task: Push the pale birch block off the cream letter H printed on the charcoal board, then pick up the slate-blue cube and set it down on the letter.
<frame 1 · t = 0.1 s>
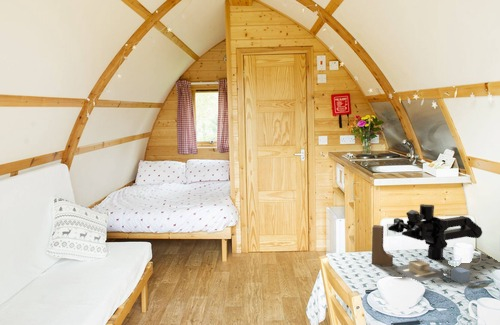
hand: (395, 231, 201), 17 cm above the table, tool horizontal, fingers open, 9 cm apart
wooden block: (382, 264, 205), on the table
letter board: (419, 272, 195), on the table
blue cube: (460, 281, 184), on the table
birch block: (419, 271, 195), resting on letter board
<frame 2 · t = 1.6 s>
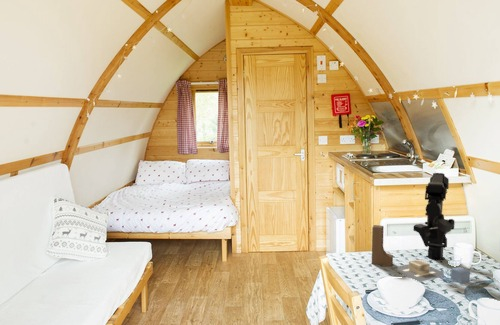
hand: (433, 245, 197), 11 cm above the table, tool pointing down, fingers open, 8 cm apart
nothing on the table moved.
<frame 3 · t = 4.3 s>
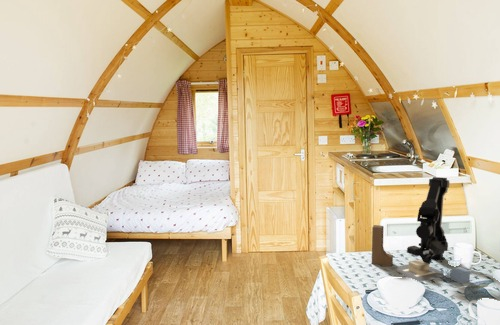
hand: (426, 267, 196), 2 cm above the table, tool pointing down, fingers closed
birch block: (418, 271, 195), resting on letter board, touching gripper
everything else where it was.
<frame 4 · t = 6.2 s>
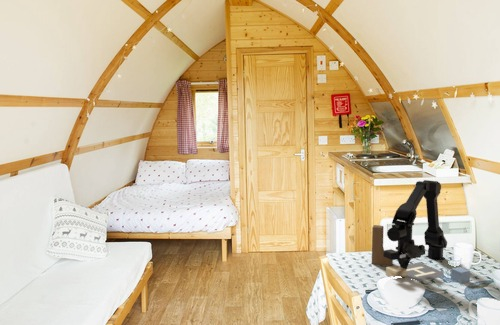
hand: (403, 271, 191), 2 cm above the table, tool pointing down, fingers closed
birch block: (395, 277, 190), on the table
everything else where it was.
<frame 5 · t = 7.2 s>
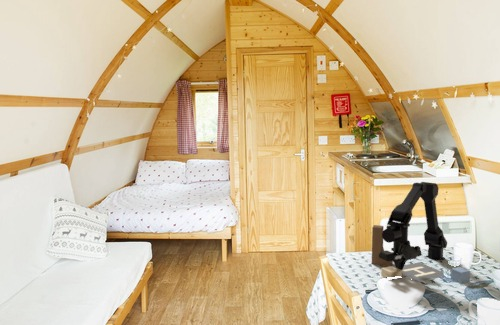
hand: (399, 272, 190), 2 cm above the table, tool pointing down, fingers closed
birch block: (391, 278, 189), on the table
everything else where it was.
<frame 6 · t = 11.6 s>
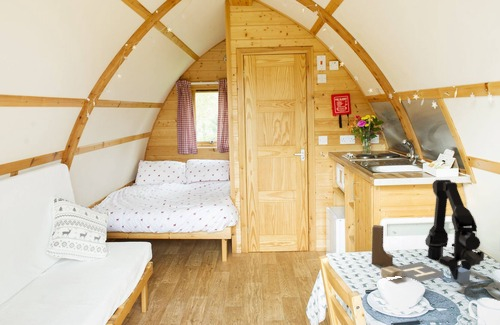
hand: (460, 278, 184), 1 cm above the table, tool pointing down, fingers closed on blue cube, 5 cm apart
blue cube: (460, 281, 184), on the table, touching gripper
everything else where it was.
when the fingers open (3 cm above the table, at t = 16.3 s): blue cube drops 1 cm, resting on letter board.
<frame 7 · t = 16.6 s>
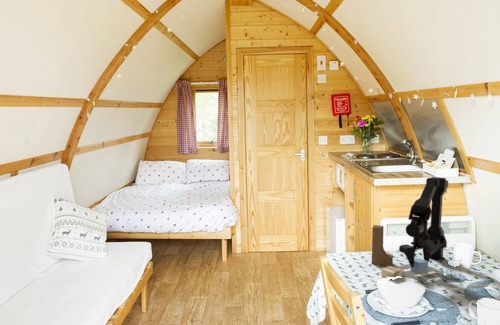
hand: (419, 266, 194), 3 cm above the table, tool pointing down, fingers open, 8 cm apart
blue cube: (419, 271, 195), resting on letter board
everything else where it was.
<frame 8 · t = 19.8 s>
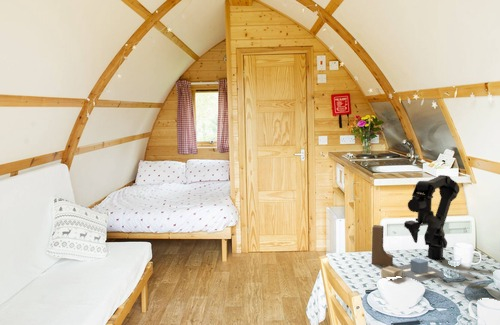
hand: (423, 241, 203), 11 cm above the table, tool pointing down, fingers open, 9 cm apart
nothing on the table moved.
at the end: blue cube inside the target area on the letter board (0.0 cm from its centre), point 0.3 cm above the letter board's base; blue cube tilted 0°; birch block inside the target area (3.0 cm from its centre), on the table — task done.
